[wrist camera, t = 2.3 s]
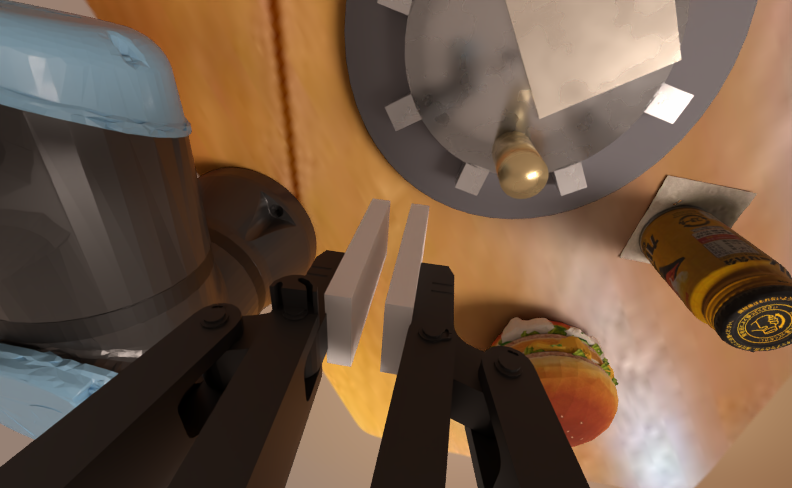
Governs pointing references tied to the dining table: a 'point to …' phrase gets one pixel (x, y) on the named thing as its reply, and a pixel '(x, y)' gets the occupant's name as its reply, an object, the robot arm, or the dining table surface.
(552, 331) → the burger
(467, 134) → the grey disc with blocks
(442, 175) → the base
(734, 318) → the condiment
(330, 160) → the dining table surface
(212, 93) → the dining table surface
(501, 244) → the dining table surface
